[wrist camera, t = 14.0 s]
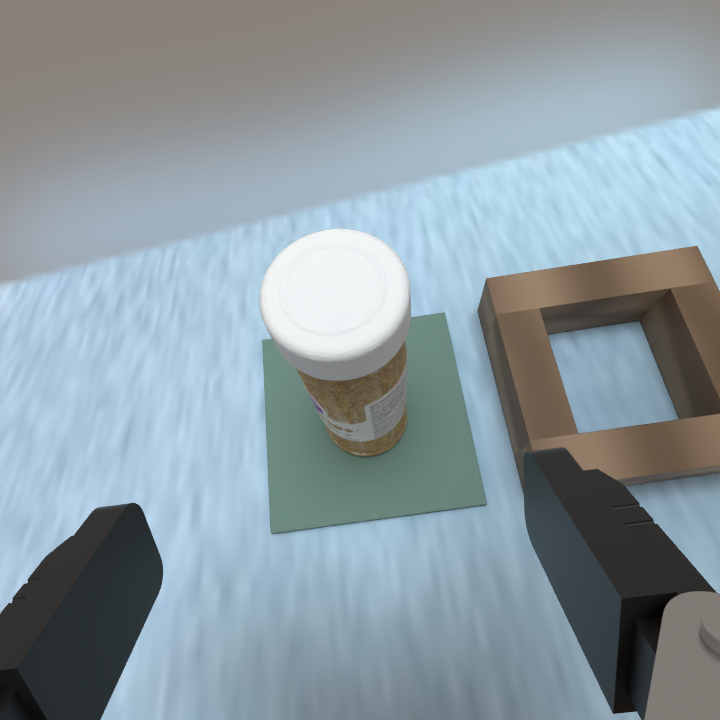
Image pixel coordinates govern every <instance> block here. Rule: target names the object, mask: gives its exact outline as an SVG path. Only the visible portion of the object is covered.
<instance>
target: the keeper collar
mask: <svg viewBox="0 0 720 720" xmlns="http://www.w3.org/2000/svg"><path fill="white" fill-rule="evenodd" d="M478 314H479V318H480V322H481V326H482V330H483V334H484V338H485V342H486V346H487V349H488V353H489V357H490V361H491V365H492V369H493V373H494V377H495V381H496V385H497V389H498V393H499V397H500V401H501V405H502V409H503V413H504V417H505V421H506V425H507V429H508V433H509V437H510V441H511V445H512V449H513V453H514V457H515V461H516V465H517V469H518V473H519V477H520V481H521V485H522V489H523V493H524V467H523V459H524V454H525V453H526V452H530V451H537V450H545V449H552V448H560V447H564V448H566V449H567V450H568V451H569V453H570V454H571V455H572V456H573V458H574V459H575V460H576V462H577V463H578V464H579V466H580V467H581V468H582V469H583V471H584V470H592V469H599V470H600V471H602V472H604V473H605V474H607V475H609V476H610V477H612V478H614V479H615V480H617V481H619V482H620V483H622V484H623V485H624V486H628V485H635V484H642V483H650V482H657V481H664V480H672V479H679V478H686V477H694V476H701V475H709V474H716V473H720V291H719V289H718V287H717V285H716V283H715V281H714V279H713V277H712V275H711V273H710V271H709V269H708V267H707V265H706V263H705V261H704V259H703V257H702V255H701V253H700V250H699V248H698V246H693V247H687V248H680V249H674V250H667V251H661V252H654V253H648V254H641V255H635V256H629V257H622V258H616V259H609V260H603V261H596V262H590V263H583V264H577V265H570V266H564V267H557V268H551V269H544V270H538V271H532V272H525V273H519V274H512V275H506V276H499V277H493V278H486V282H485V285H484V289H483V293H482V296H481V300H480V304H479V308H478ZM633 321H640V322H641V325H642V327H643V330H644V332H645V335H646V337H647V340H648V342H649V345H650V347H651V350H652V352H653V354H654V357H655V359H656V362H657V364H658V367H659V369H660V372H661V374H662V377H663V379H664V382H665V384H666V387H667V389H668V392H669V394H670V397H671V399H672V402H673V404H674V406H675V409H676V411H677V414H678V416H679V419H680V420H673V421H665V422H658V423H651V424H644V425H637V426H630V427H623V428H616V429H609V430H602V431H594V432H587V433H580V434H578V431H577V428H576V425H575V422H574V418H573V415H572V412H571V409H570V406H569V402H568V399H567V396H566V393H565V389H564V386H563V383H562V380H561V377H560V373H559V370H558V367H557V364H556V361H555V357H554V354H553V351H552V348H551V345H550V341H549V338H548V335H547V334H553V333H560V332H566V331H573V330H580V329H586V328H593V327H600V326H606V325H613V324H620V323H627V322H633Z"/></svg>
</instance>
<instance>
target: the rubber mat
mask: <svg viewBox="0 0 720 720" xmlns="http://www.w3.org/2000/svg"><path fill="white" fill-rule="evenodd" d="M262 342H263V366H264V389H265V412H266V435H267V459H268V482H269V505H270V528H271V533H272V534H275V533H282V532H289V531H297V530H304V529H311V528H319V527H326V526H333V525H341V524H348V523H356V522H363V521H370V520H378V519H385V518H392V517H400V516H407V515H414V514H422V513H429V512H436V511H444V510H451V509H458V508H466V507H473V506H481V505H486V504H487V502H486V498H485V493H484V489H483V484H482V479H481V475H480V470H479V466H478V461H477V457H476V452H475V448H474V443H473V438H472V434H471V429H470V425H469V420H468V416H467V411H466V407H465V402H464V397H463V393H462V388H461V384H460V379H459V375H458V370H457V366H456V361H455V357H454V352H453V347H452V343H451V338H450V334H449V329H448V325H447V320H446V316H445V312H444V313H437V314H431V315H424V316H418V317H411V320H410V326H409V330H408V333H407V336H406V339H405V343H406V348H407V400H406V407H407V424H406V428H405V431H404V433H403V435H402V437H401V438H400V440H399V441H398V442H397V443H396V444H395V445H394V446H393V447H392V448H391V449H389V450H387V451H385V452H383V453H381V454H378V455H373V456H356V455H353V454H350V453H348V452H346V451H344V450H342V449H341V448H340V447H338V446H337V445H336V444H335V443H334V442H333V441H332V439H331V437H330V436H329V434H328V432H327V429H326V425H325V423H324V422H323V420H322V419H321V417H320V415H319V413H318V411H317V409H316V407H315V405H314V403H313V401H312V399H311V398H310V396H309V394H308V392H307V391H306V389H305V387H304V385H303V382H302V379H301V377H300V375H299V373H298V372H297V370H296V368H295V367H294V366H292V365H291V364H290V363H289V362H288V361H287V360H286V359H285V358H284V357H283V355H282V354H281V353H280V351H279V350H278V348H277V347H276V345H275V343H274V342H273V340H272V339H267V340H262Z"/></svg>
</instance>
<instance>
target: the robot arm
mask: <svg viewBox="0 0 720 720" xmlns="http://www.w3.org/2000/svg"><path fill="white" fill-rule="evenodd" d="M523 467H524V505H525V520H526V526H527V530H528V534H529V538H530V541H531V543H532V546H533V548H534V550H535V552H536V554H537V556H538V558H539V560H540V562H541V565H542V567H543V569H544V571H545V573H546V575H547V577H548V579H549V581H550V583H551V585H552V587H553V590H554V592H555V594H556V596H557V598H558V600H559V602H560V604H561V606H562V608H563V610H564V612H565V615H566V617H567V619H568V621H569V623H570V625H571V627H572V629H573V631H574V633H575V635H576V637H577V640H578V642H579V644H580V646H581V648H582V650H583V652H584V654H585V656H586V658H587V660H588V662H589V665H590V667H591V669H592V671H593V673H594V675H595V677H596V679H597V681H598V683H599V685H600V687H601V690H602V692H603V694H604V696H605V698H606V700H607V702H608V704H609V706H610V708H611V710H612V712H613V714H616V713H625V712H635V711H637V712H638V714H639V716H640V718H641V720H720V594H719V593H717V592H716V591H715V590H714V589H713V588H712V587H711V586H710V585H709V583H708V582H707V581H706V580H705V579H704V578H703V576H702V575H701V574H700V573H699V572H698V571H697V569H696V568H695V567H694V566H693V565H692V564H691V563H690V561H689V560H688V559H687V558H686V557H685V556H684V554H683V553H682V552H681V551H680V550H679V549H678V548H677V546H676V545H675V544H674V543H673V542H672V541H671V539H670V538H669V537H668V536H667V535H666V534H665V532H664V531H663V530H662V529H661V528H660V527H659V526H658V524H654V521H653V519H652V517H651V516H650V515H649V514H648V513H647V512H646V510H645V509H644V508H643V507H640V506H639V502H638V501H637V500H636V499H635V498H634V497H633V495H632V494H631V493H630V492H629V491H628V490H627V488H626V487H625V486H624V485H623V484H622V483H620V482H619V481H617V480H615V479H614V478H612V477H610V476H609V475H607V474H605V473H604V472H602V471H600V470H599V469H592V470H584V471H583V469H582V468H581V467H580V466H579V464H578V463H577V462H576V460H575V459H574V458H573V456H572V455H571V454H570V453H569V451H568V450H567V449H566V448H564V447H560V448H552V449H545V450H537V451H530V452H526V453H525V454H524V459H523ZM162 579H163V565H162V560H161V557H160V554H159V551H158V549H157V546H156V544H155V541H154V539H153V536H152V533H151V531H150V528H149V526H148V523H147V521H146V518H145V515H144V513H143V511H142V509H141V507H140V506H139V505H138V504H136V503H130V504H122V505H115V506H107V507H100V508H96V509H95V510H94V511H93V512H92V513H91V514H90V515H89V516H88V518H87V519H86V520H85V522H84V523H83V524H82V526H81V527H80V528H79V529H78V531H77V532H76V533H75V535H74V536H71V537H69V538H68V539H67V540H66V541H64V542H63V543H62V544H61V545H60V546H58V547H57V548H56V549H55V550H53V551H52V552H51V553H50V554H48V555H47V556H46V557H45V558H44V560H43V561H42V562H41V563H40V565H39V566H38V567H37V568H36V570H35V571H34V572H33V573H32V575H31V576H30V577H29V578H28V583H27V584H24V585H23V586H22V587H21V588H20V590H19V591H18V592H17V593H16V595H15V596H14V597H13V598H12V599H13V601H12V603H8V605H7V606H6V607H5V608H4V610H3V611H2V612H1V613H0V720H100V719H101V717H102V715H103V713H104V711H105V708H106V706H107V704H108V702H109V700H110V698H111V695H112V693H113V691H114V689H115V687H116V685H117V682H118V680H119V678H120V676H121V674H122V672H123V669H124V667H125V665H126V663H127V661H128V659H129V656H130V654H131V652H132V650H133V648H134V646H135V643H136V641H137V639H138V637H139V635H140V633H141V630H142V628H143V626H144V624H145V622H146V620H147V617H148V615H149V613H150V611H151V609H152V607H153V604H154V602H155V600H156V598H157V596H158V594H159V591H160V588H161V585H162Z"/></svg>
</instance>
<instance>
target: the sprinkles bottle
mask: <svg viewBox="0 0 720 720" xmlns="http://www.w3.org/2000/svg"><path fill="white" fill-rule="evenodd" d="M260 310H261V315H262V318H263V321H264V324H265V326H266V328H267V330H268V332H269V334H270V336H271V338H272V340H273V342H274V343H275V345H276V347H277V348H278V350H279V351H280V353H281V354H282V355H283V357H284V358H285V359H286V360H287V361H288V362H289V363H290V364H291V365H292V366H294V367H295V368H296V370H297V372H298V373H299V375H300V377H301V379H302V382H303V385H304V387H305V389H306V391H307V392H308V394H309V396H310V398H311V399H312V401H313V403H314V405H315V407H316V409H317V411H318V413H319V415H320V417H321V419H322V420H323V422H324V423H325V425H326V429H327V432H328V434H329V436H330V437H331V439H332V441H333V442H334V443H335V444H336V445H337V446H338V447H340V448H341V449H342V450H344V451H346V452H348V453H350V454H353V455H356V456H373V455H378V454H381V453H383V452H385V451H387V450H389V449H391V448H392V447H393V446H394V445H395V444H396V443H397V442H398V441H399V440H400V438H401V437H402V435H403V433H404V431H405V428H406V424H407V407H406V400H407V348H406V343H405V339H406V336H407V333H408V330H409V326H410V320H411V291H410V282H409V277H408V274H407V271H406V268H405V266H404V264H403V263H402V261H401V259H400V258H399V256H398V255H397V254H396V252H395V251H393V250H392V248H390V247H389V246H388V245H387V244H386V243H384V242H383V241H381V240H380V239H378V238H376V237H374V236H372V235H369V234H367V233H364V232H360V231H356V230H350V229H329V230H323V231H319V232H315V233H312V234H309V235H307V236H304V237H302V238H300V239H298V240H296V241H295V242H293V243H292V244H290V245H289V246H288V247H286V248H285V249H284V250H283V251H282V252H281V253H280V254H279V255H278V256H277V257H276V258H275V259H274V261H273V262H272V263H271V265H270V266H269V268H268V270H267V272H266V274H265V276H264V278H263V281H262V285H261V290H260Z"/></svg>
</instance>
